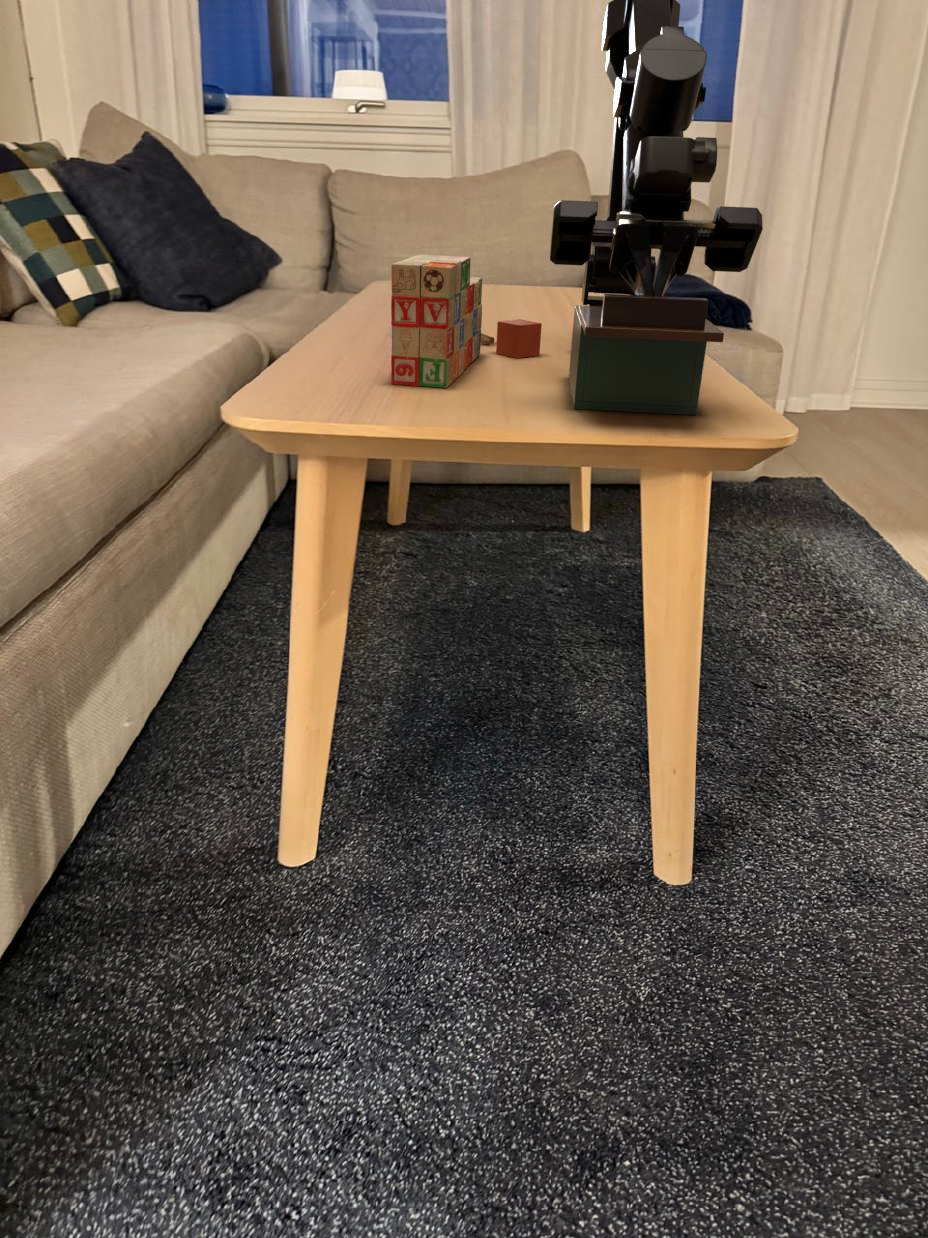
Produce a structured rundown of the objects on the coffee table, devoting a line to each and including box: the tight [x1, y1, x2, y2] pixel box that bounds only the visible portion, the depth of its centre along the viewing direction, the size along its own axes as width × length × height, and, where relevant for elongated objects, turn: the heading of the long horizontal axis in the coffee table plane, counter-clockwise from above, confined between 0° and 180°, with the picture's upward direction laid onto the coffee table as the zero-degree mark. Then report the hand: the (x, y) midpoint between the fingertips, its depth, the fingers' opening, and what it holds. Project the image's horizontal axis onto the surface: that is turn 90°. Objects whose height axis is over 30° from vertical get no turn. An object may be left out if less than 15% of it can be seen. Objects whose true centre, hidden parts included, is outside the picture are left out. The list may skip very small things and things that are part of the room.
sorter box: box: [568, 305, 708, 416], centre depth 94 cm, size 15×12×8 cm
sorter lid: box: [577, 293, 725, 343], centre depth 85 cm, size 15×12×3 cm
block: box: [495, 318, 543, 359], centre depth 116 cm, size 4×4×4 cm
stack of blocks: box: [390, 254, 483, 389], centre depth 104 cm, size 21×6×12 cm, turn 169°
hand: (652, 311), depth 81 cm, fingers closed
